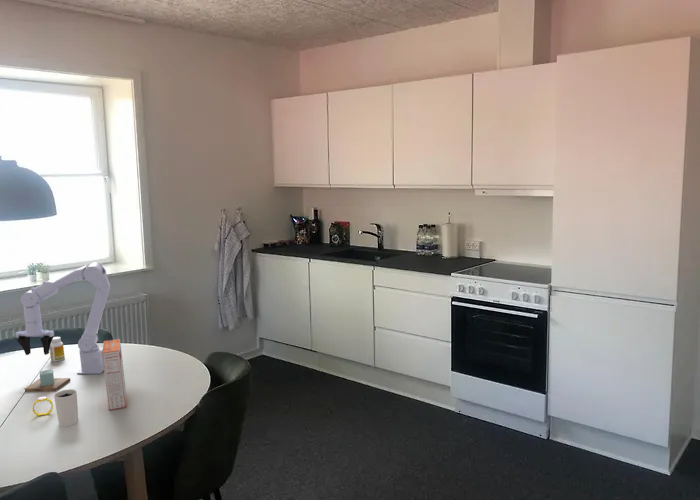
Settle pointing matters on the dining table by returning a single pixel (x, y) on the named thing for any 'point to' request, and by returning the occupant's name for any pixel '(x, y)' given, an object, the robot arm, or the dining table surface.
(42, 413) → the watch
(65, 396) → the white cup
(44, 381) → the teal cube
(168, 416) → the dining table surface
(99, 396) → the dining table surface
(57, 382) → the walnut board
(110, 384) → the cracker box
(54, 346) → the supplement bottle
